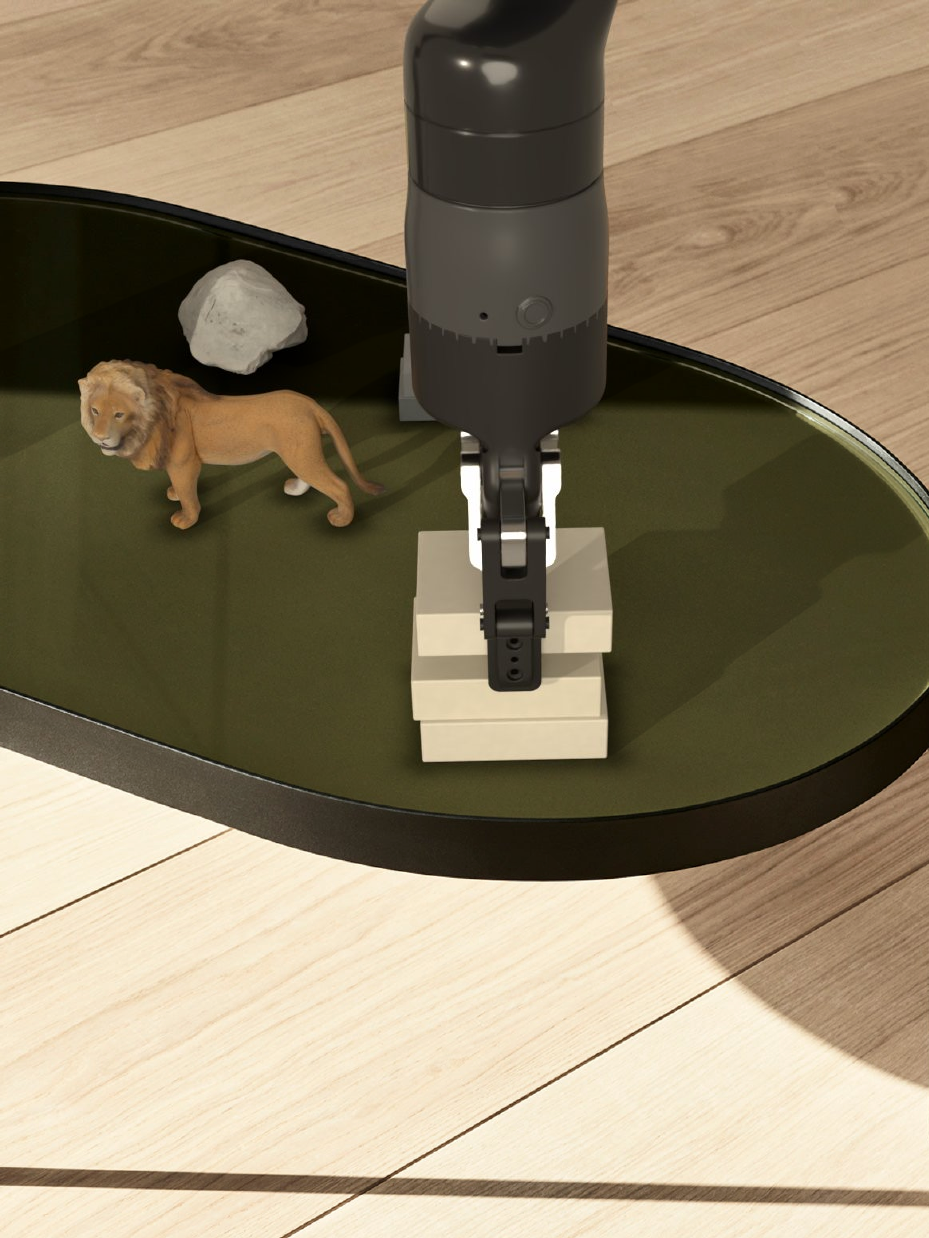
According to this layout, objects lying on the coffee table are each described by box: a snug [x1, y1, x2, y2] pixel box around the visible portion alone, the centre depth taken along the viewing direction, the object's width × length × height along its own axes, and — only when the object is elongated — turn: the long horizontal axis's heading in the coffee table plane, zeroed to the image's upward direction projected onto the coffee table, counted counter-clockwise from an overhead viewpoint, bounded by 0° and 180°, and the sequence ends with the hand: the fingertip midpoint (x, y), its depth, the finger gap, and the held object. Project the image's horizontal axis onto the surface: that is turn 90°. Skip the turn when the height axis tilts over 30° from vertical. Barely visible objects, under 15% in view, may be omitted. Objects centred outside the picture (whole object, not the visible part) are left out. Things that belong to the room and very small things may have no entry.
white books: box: [410, 596, 609, 763], centre depth 81 cm, size 8×6×4 cm
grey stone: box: [177, 259, 308, 375], centre depth 106 cm, size 9×8×5 cm
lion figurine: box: [77, 358, 387, 530], centre depth 92 cm, size 15×5×9 cm, turn 98°
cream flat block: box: [415, 526, 614, 656], centre depth 78 cm, size 8×6×2 cm
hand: (513, 636), depth 79 cm, fingers closed on cream flat block, 6 cm apart
